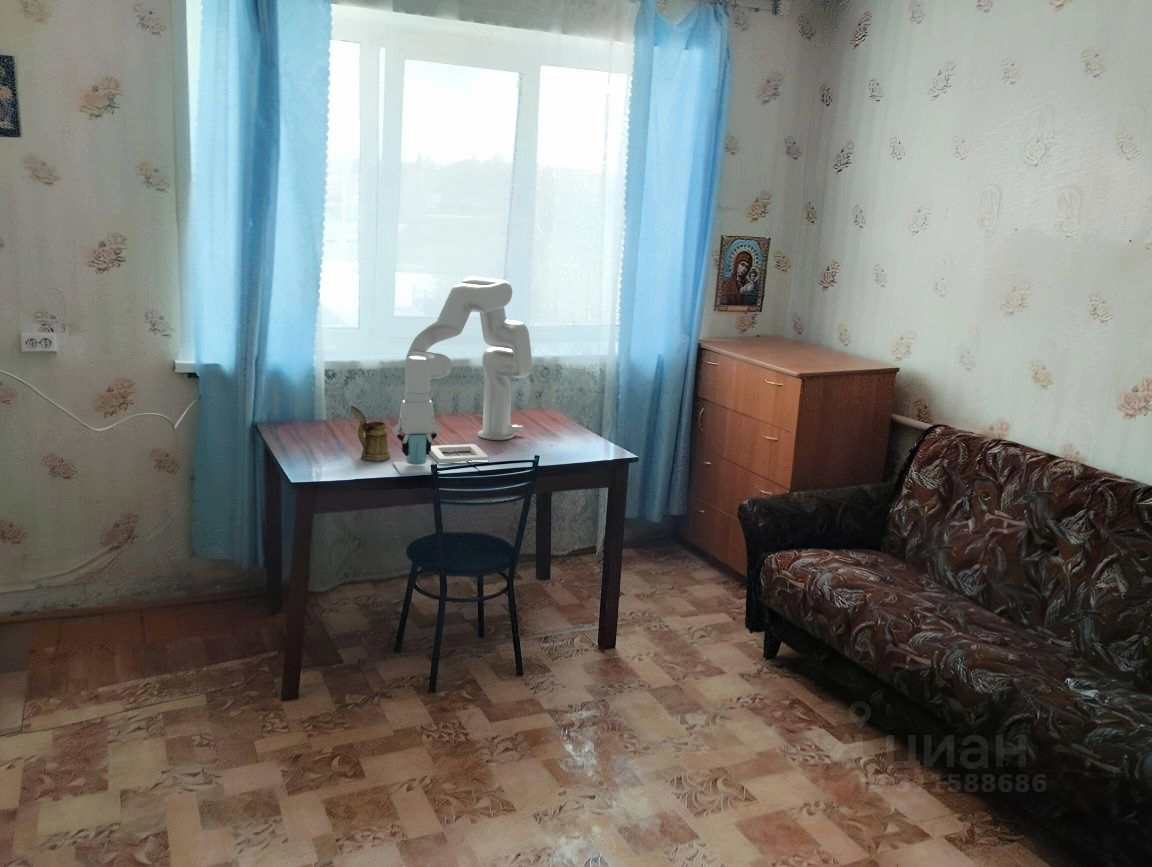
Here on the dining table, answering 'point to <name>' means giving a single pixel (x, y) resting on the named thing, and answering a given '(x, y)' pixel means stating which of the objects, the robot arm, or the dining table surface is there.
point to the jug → (417, 449)
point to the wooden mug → (372, 438)
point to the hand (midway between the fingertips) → (416, 453)
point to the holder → (440, 458)
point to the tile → (413, 468)
